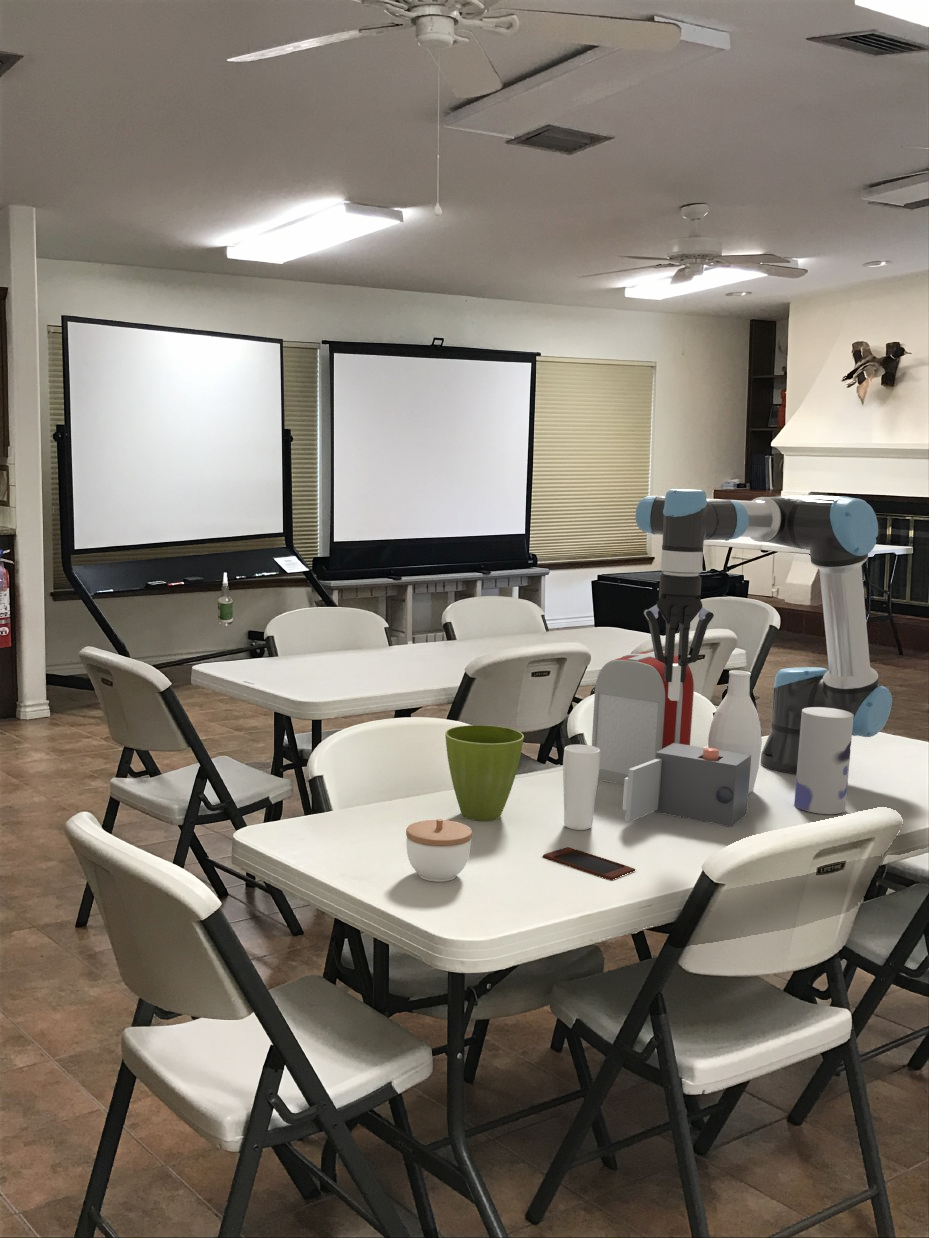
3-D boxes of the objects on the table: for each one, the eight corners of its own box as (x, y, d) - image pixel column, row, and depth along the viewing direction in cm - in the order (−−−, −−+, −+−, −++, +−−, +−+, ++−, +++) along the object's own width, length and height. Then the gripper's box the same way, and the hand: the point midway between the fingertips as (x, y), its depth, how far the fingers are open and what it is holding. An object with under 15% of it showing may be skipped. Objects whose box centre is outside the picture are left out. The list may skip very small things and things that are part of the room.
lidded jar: (403, 863, 199) (405, 809, 198) (467, 864, 200) (469, 810, 199) (405, 887, 188) (407, 829, 187) (473, 887, 189) (475, 830, 188)
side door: (659, 808, 234) (662, 758, 232) (630, 821, 224) (633, 770, 223) (651, 806, 235) (654, 757, 233) (621, 819, 225) (624, 768, 224)
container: (847, 817, 237) (856, 718, 234) (795, 812, 239) (803, 714, 236) (842, 803, 246) (850, 708, 244) (792, 798, 248) (800, 704, 246)
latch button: (705, 759, 233) (706, 747, 233) (720, 761, 232) (721, 749, 231) (700, 762, 231) (701, 749, 230) (715, 765, 229) (716, 752, 229)
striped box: (690, 774, 264) (698, 654, 261) (658, 791, 250) (666, 664, 246) (622, 761, 273) (629, 645, 270) (587, 777, 258) (594, 654, 255)
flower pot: (505, 832, 218) (509, 747, 216) (430, 820, 223) (433, 737, 221) (529, 810, 232) (533, 730, 230) (458, 800, 237) (461, 721, 235)
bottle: (700, 792, 250) (708, 673, 247) (709, 779, 261) (718, 665, 257) (753, 799, 246) (763, 679, 243) (761, 786, 257) (770, 670, 253)
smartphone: (567, 845, 210) (637, 868, 200) (566, 850, 210) (636, 873, 200) (541, 853, 205) (611, 877, 195) (541, 859, 205) (611, 883, 195)
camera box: (669, 800, 243) (673, 742, 242) (746, 814, 236) (751, 755, 234) (650, 812, 234) (654, 753, 232) (730, 828, 226) (734, 766, 225)
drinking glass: (599, 824, 225) (604, 746, 223) (591, 834, 219) (596, 754, 217) (564, 819, 227) (569, 742, 225) (555, 829, 221) (560, 750, 219)
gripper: (710, 572, 223) (702, 695, 227) (641, 570, 222) (634, 694, 226) (721, 576, 216) (713, 704, 219) (650, 574, 215) (643, 702, 218)
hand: (673, 698), depth 223 cm, fingers closed
